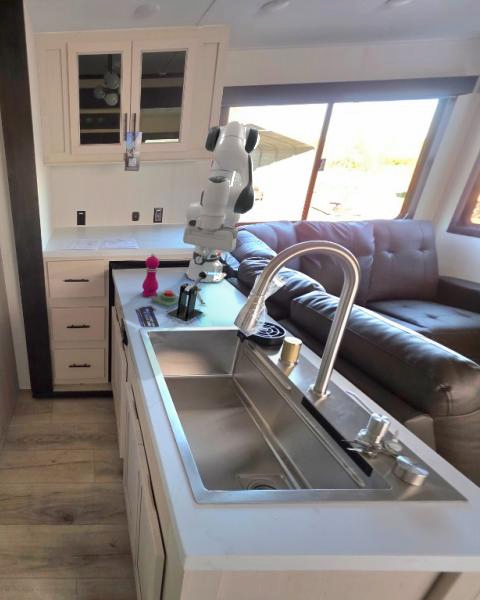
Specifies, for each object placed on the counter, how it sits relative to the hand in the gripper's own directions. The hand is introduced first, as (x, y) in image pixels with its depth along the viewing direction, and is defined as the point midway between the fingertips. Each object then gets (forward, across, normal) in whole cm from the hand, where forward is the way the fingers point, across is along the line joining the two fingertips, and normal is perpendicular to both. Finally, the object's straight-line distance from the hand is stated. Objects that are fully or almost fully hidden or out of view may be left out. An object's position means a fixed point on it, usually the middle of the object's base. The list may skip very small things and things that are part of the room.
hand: (205, 258), depth 124 cm
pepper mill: (+22, +23, +3) cm, 32 cm away
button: (+19, +12, +4) cm, 23 cm away
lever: (+11, 0, +4) cm, 11 cm away
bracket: (+22, 0, +9) cm, 24 cm away
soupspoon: (+22, +8, -13) cm, 27 cm away
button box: (+22, +12, +4) cm, 26 cm away
